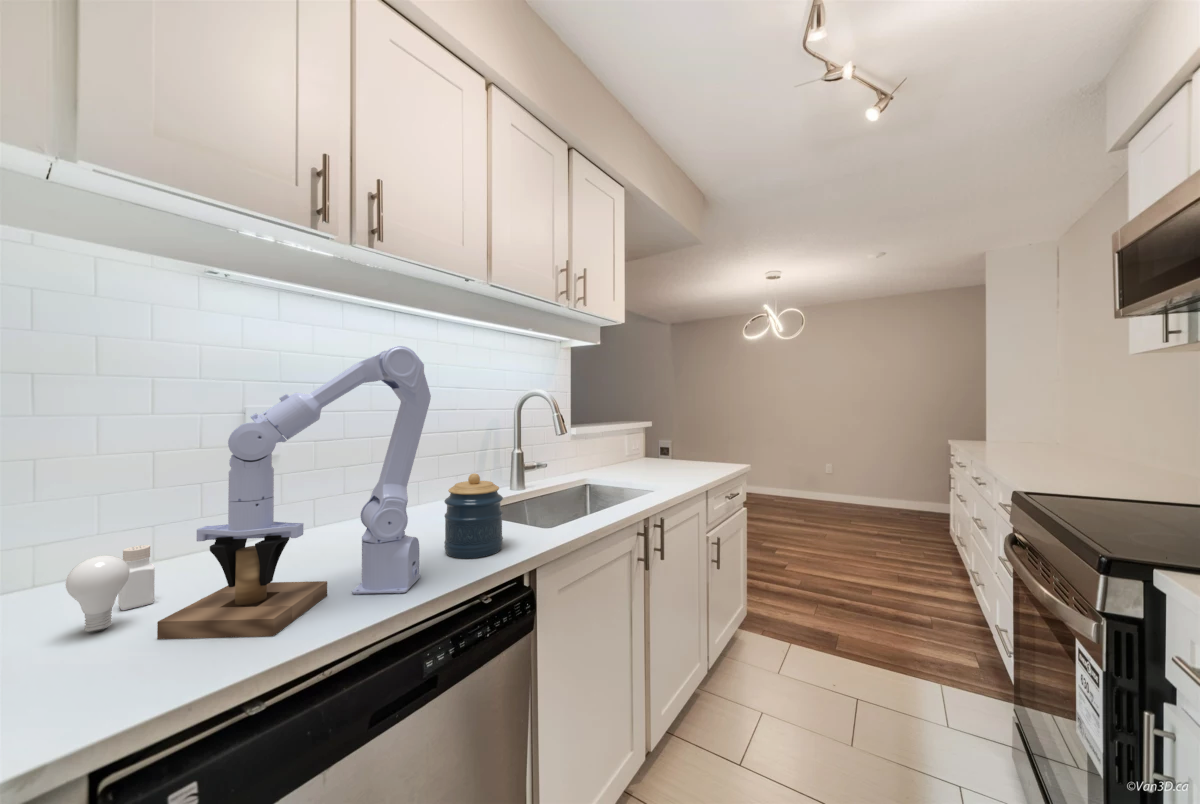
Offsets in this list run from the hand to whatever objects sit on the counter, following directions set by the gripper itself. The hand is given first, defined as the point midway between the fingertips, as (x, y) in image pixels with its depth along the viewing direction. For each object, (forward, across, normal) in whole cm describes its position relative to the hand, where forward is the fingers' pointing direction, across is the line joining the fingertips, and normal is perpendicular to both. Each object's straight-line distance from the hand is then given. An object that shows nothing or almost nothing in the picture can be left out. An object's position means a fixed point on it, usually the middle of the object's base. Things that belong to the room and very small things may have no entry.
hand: (251, 584), depth 72 cm
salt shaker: (+5, +22, -7) cm, 23 cm away
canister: (+5, -30, -29) cm, 42 cm away
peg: (+2, 0, 0) cm, 3 cm away
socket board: (+5, 0, 0) cm, 5 cm away
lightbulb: (+5, +19, +2) cm, 20 cm away
